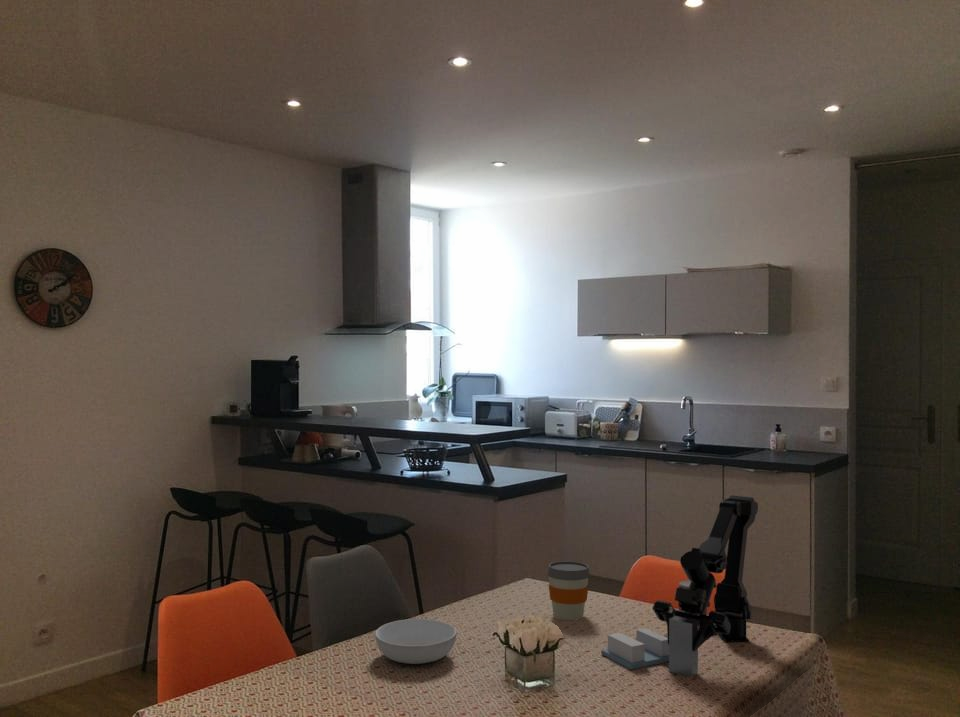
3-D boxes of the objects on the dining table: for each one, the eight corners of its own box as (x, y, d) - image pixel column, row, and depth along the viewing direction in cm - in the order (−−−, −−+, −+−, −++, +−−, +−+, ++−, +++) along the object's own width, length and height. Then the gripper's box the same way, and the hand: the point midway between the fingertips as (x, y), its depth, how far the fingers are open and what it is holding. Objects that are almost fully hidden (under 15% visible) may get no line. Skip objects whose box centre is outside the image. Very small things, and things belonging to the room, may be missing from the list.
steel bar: (674, 667, 206) (675, 615, 206) (697, 673, 202) (698, 620, 202) (668, 671, 203) (669, 619, 203) (691, 677, 199) (692, 623, 199)
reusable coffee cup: (548, 608, 255) (548, 560, 255) (589, 610, 254) (589, 561, 254) (546, 621, 243) (546, 570, 243) (589, 623, 241) (589, 571, 241)
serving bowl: (358, 658, 211) (358, 631, 211) (418, 639, 226) (418, 613, 226) (413, 679, 197) (413, 650, 197) (473, 657, 212) (473, 630, 212)
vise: (661, 642, 224) (661, 623, 224) (691, 656, 214) (691, 636, 214) (601, 654, 215) (601, 634, 215) (630, 669, 204) (630, 648, 204)
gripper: (656, 568, 212) (635, 622, 203) (726, 580, 200) (708, 637, 191) (669, 592, 218) (650, 645, 209) (738, 605, 206) (721, 662, 197)
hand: (681, 647), depth 201 cm, fingers closed on steel bar, 6 cm apart
